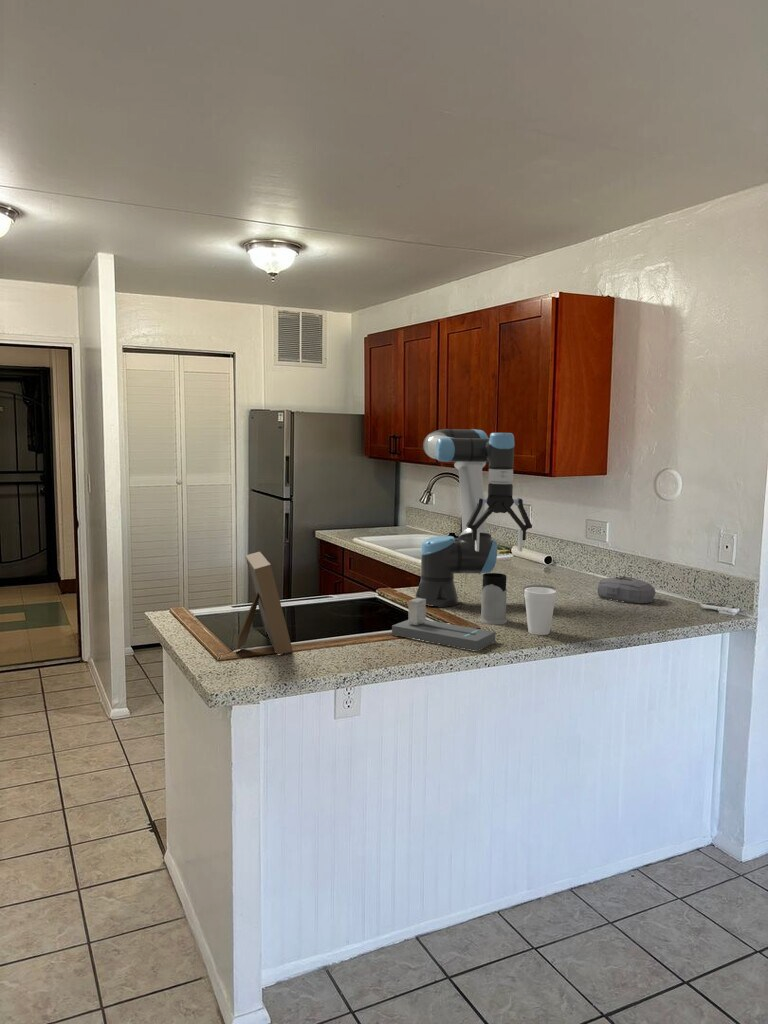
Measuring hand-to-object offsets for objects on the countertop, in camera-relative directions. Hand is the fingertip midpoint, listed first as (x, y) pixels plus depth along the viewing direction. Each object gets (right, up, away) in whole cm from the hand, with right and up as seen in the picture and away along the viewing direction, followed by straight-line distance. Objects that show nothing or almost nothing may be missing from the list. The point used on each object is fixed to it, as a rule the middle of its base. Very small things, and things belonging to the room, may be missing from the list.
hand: (498, 550), depth 240 cm
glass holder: (0, -23, +11) cm, 25 cm away
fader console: (-18, -25, -14) cm, 34 cm away
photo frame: (-70, -26, -24) cm, 79 cm away
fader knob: (-26, -21, -9) cm, 35 cm away
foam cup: (+12, -25, -5) cm, 28 cm away
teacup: (+18, -22, +26) cm, 38 cm away
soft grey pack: (+54, -20, +43) cm, 72 cm away
